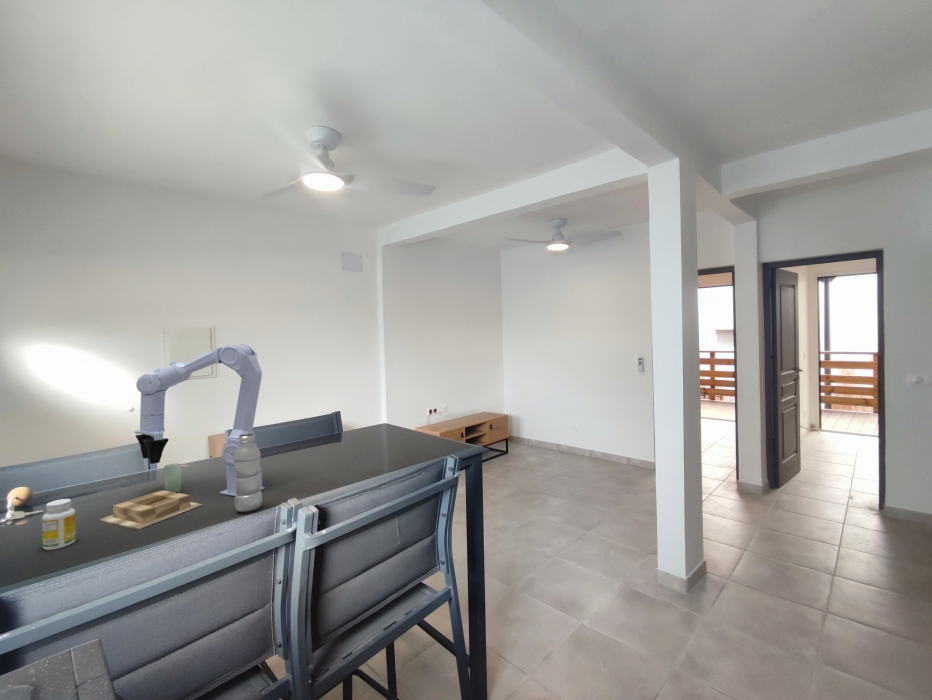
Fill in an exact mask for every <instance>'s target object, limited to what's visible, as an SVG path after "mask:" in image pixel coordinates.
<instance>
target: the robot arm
mask: <svg viewBox="0 0 932 700" xmlns="http://www.w3.org/2000/svg"><path fill="white" fill-rule="evenodd" d="M257 354H258V353H257V352H256V351H255V350H254V349H253V348H252V347H251V346H250V345H248V344H236V345H235V344H226V345H224V346H223V347H222V346H221V347H217V348H215V349H212V350H211V351H208V352H206V353H205V354H202V355H200V356H198V357H196V358H194V359H191V360H189V361H188V362H183V361H172V362H170V363H169V365H168V366H166V367H163V368H161V369H160V368H158V369H155V370H154V371H153V374H152V373H144V374H142V375H141V376H139V378H137V381H136V389H137V390H138V392H139V393H140V414H139V415H140V416H139V429H136V430H134V434H135V438H136V440H137V441H138V443H139V447H140V451H141V452H140V453H141V456H142V458H143V459H148V461H149V464H150V465H153V464H160V462H161V459H162V455H163V452H164V448H166V445H167V444H168V442H169V438H168V437H167V438H164V433H165V430H166V429H165V404H166V402H165V401H166V400H165V399H166V392H167V391H168V389H169V388H171V387H173V386H176V385H178V384H181V383H183V382H185V381H187V380H189V379H190V378H191V375H192V373H195V372H197V371H200V370H202V369H204V368H207V367H210V366H212V365H215V364H218V365H219V364H223V365H224V366H226V367H227V368H230V369H231V370H233V371H234V372H235V373H236V374H237V375H238V376H239V378H240V379H241V380H240V385H239V392H238V397H237V403H236V409H235V416H234V419H233V427H232V430H231V432H230V434H229V435H228V437H227V439H226V444H225V445H224V446H223V448H222V450H221V458H222V459H223V461H224V463H226V464H225V467H226V468H225V469H226V489H225V490H222V491H220V492H219V494H221V495H226V496H232V497H233V496H234V497H235V495H236V484H237V480H236V478H237V477H236V470H235V465H234V461H233V455H234V453H235V451H236V449H237V448H238V447H239V445H240V443H238V441H239V435H243V434H254V439H255V441H254V444H255V445H256V446H257V443H256V438H255V437H256V433H255V432H254V430H253V428H254V423H255V417H256V412H257V407H258V406H257V405H258V398H259V396H260V395H259V394H260V388H261V382H262V376H263V371H262V369H261V366H260V363H259V360H258V358H257ZM262 469H263V468H262V466H261V464H259V483H260V490H261V491H262V490H265V486H263V471H262Z"/></svg>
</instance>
